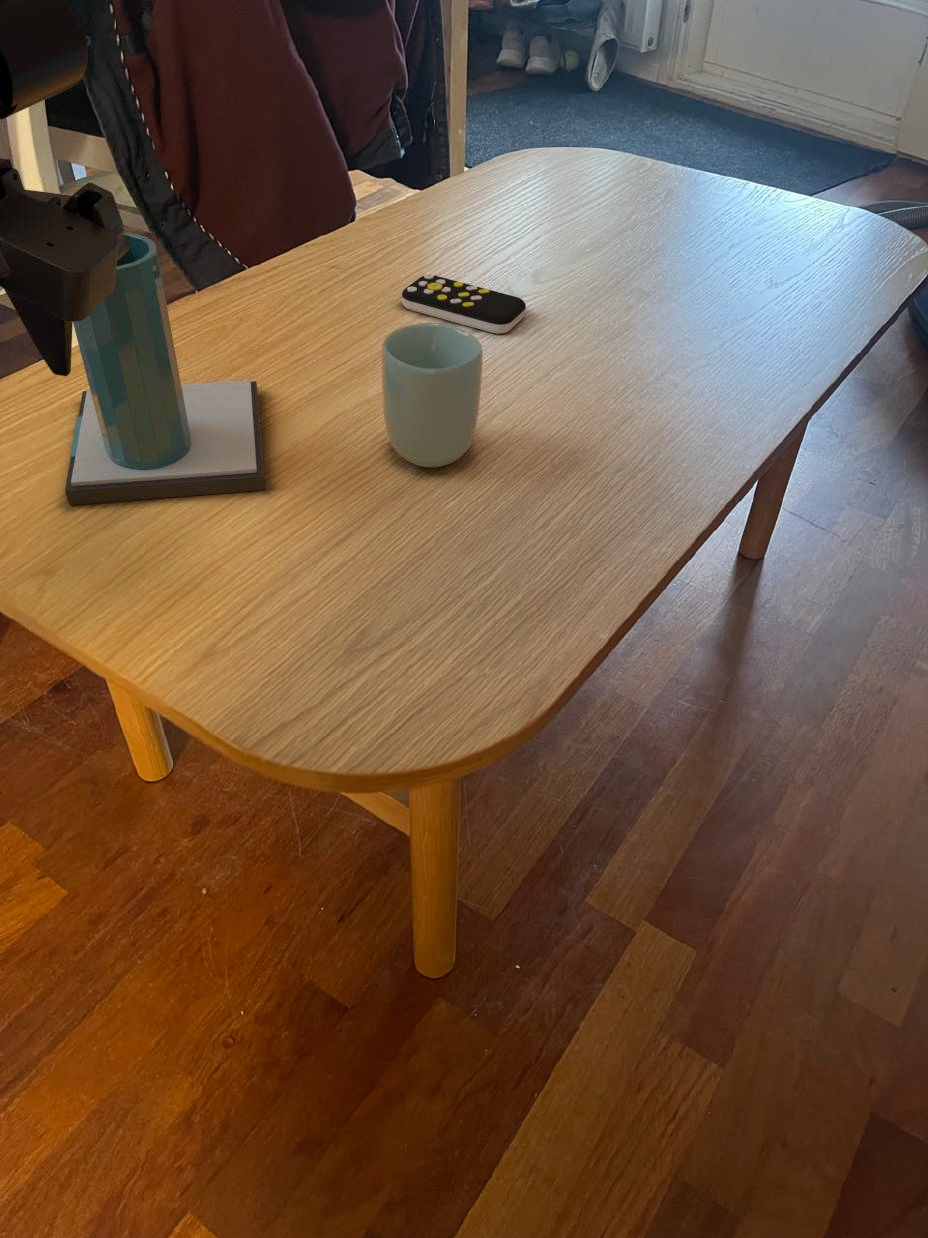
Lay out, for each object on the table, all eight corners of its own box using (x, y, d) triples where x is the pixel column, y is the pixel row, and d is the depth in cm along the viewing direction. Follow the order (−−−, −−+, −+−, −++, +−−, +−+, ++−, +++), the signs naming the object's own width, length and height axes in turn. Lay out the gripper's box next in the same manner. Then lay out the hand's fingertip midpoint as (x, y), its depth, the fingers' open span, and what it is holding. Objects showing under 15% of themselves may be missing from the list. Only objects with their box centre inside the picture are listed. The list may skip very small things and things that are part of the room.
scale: (68, 505, 73) (63, 486, 72) (86, 404, 84) (81, 386, 82) (265, 490, 76) (263, 471, 74) (257, 394, 86) (255, 376, 85)
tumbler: (153, 479, 73) (109, 278, 62) (88, 454, 75) (34, 255, 64) (208, 439, 77) (175, 244, 66) (145, 416, 79) (103, 224, 68)
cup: (366, 448, 81) (362, 339, 74) (436, 419, 85) (439, 313, 78) (423, 491, 77) (425, 380, 70) (494, 458, 80) (502, 350, 74)
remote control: (504, 338, 96) (506, 319, 95) (396, 308, 100) (396, 290, 99) (529, 315, 100) (531, 296, 99) (424, 286, 104) (424, 269, 103)
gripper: (-41, 251, 40) (64, 530, 51) (157, 104, 53) (207, 354, 64) (-268, 219, 42) (-117, 497, 53) (-22, 84, 54) (57, 332, 65)
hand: (23, 413), depth 59 cm, fingers open, 9 cm apart
